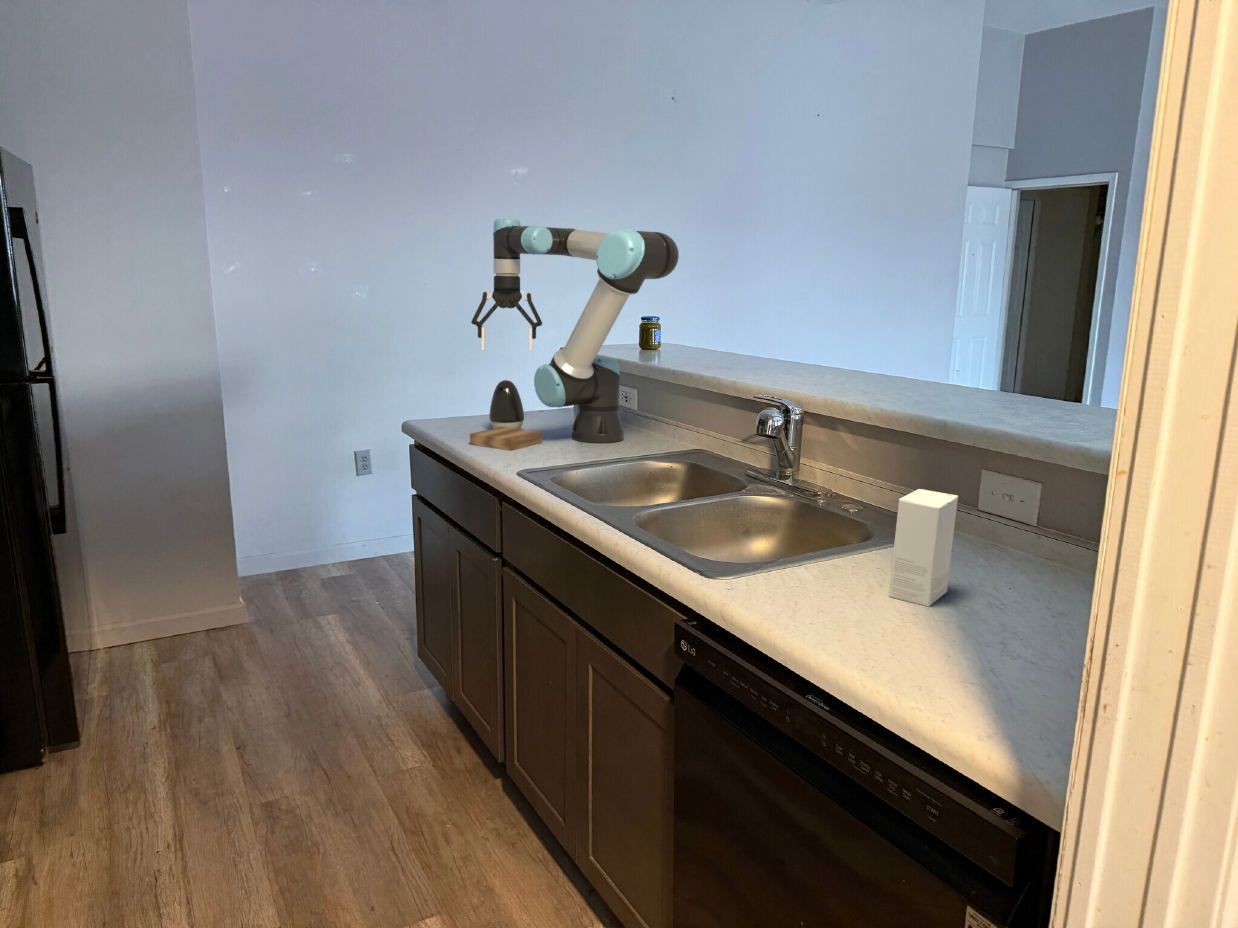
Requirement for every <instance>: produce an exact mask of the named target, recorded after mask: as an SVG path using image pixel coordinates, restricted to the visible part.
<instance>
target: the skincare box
mask: <svg viewBox="0 0 1238 928" xmlns="http://www.w3.org/2000/svg"><path fill="white" fill-rule="evenodd" d="M958 501H959V495H957V494H950V493H945V492H939V491H935V490H934V491H933V490H927V489H923V488H917V489H916V490H914V491H912V492H910V493H908V494H907V495H905V496H902V497H901V498H898V507H897V516H896V526H895V533H894V534H895V535H894V536H895V537H894V543H893V544H894V546H893V555H892V564H891V565H892V566H891V574H890V580H889V583H890V584H889V589H888V590H889V591H888V597H889V598H892V599H895V600H900V601H905V602H908V603H912V604H916V605H919V606H924V607H930V606H931V605H933V604H934V603H935V602H936V601H938V600H939V599H940V598H941V597H943V595H945V594H946V593H947V592H948V583H949V575H950V568H951V567H950V566H951V558H952V552H953V551H952V550H953V542H954V534H955V532H954V531H955V525H956V517H957V509H958Z"/></svg>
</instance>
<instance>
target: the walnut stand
mask: <svg viewBox="0 0 1238 928" xmlns="http://www.w3.org/2000/svg"><path fill="white" fill-rule="evenodd" d="M542 443H543V432H542V431H538V430H529V429H521V428H520V429H515V428H507V427H498V428H490V429H485V430H481V431H476V432H472V433H469V444H470V446H478V447H483V448H490V449H491V448H492V449H497V448H498V449H499V450H503V451H504V450H505V451H516V450H520V449H522V448H528V447H532V446H535V445H538V444H542Z"/></svg>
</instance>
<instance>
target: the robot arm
mask: <svg viewBox="0 0 1238 928" xmlns="http://www.w3.org/2000/svg"><path fill="white" fill-rule="evenodd" d="M492 235H493V237H492V238H493V239H492V240H493V273H494V274H495V275H494V276H493V291H492V292H488V291H483V293H482V298H481V301H480V303H479V305H478V307H477V310H476V311H475V313H474V315H473V318H472V319H471V324H472V325H475V326H476V327H477V338H478V339H481V350H482V351H485V349H486V339H485V338H486V329H485V328H486V327H485V326H483V325H484V324H485V323H486V321H488V319H489V318H490V317H491V316H492V314H493V313H494V312H495V311H496V310H497V309H498V307H499V308H500V309H514V308H515V309H516V310H518V311H519V313H520V314H521V316H522V317H524V319H525V320H526V322H528V324H529V325H530V326H531V327H529V328H528V329H529V334H528V335H529V339H528V343H529V345H528V346H529V347H528V349H529V352H530V351H531V352H532V351H533V340H535V339H536V338H537V328H538V327H541V326H543V321H542V319H541V317H540V315H539V313H538V311H537V309H536V307H535V305H534V303H533V300H532V293H530V292H527V293H522V292H521V277H520V274H521V254H522V255H542V256H544V255H550V256H564V257H570V258H578V259H586V260H590V261H592V260H593V261H595V262H596V266H597V270H596V273H597V276H598V281H597V283H596V285H595V287H594V289H593V291H592V293H591V294H590V297H589V299H588V301H587V302H586V304H585V305H584V308H583V311H582V312H581V313H580V316H579V318H578V320H577V322H576V324H575V326H574V328H573V330H572V332H571V334H570V335H569V338H568V340H567V341H566V344H565V345H564V347H563V349H559V350H556V351H555V353H554V354H553V357H552V358H551V360H550V362H549V363H545V364H541V365H540V366H538V368H537V369H536V371H535V373H534V378H533V384H534V389H535V390H534V391H535V393H536V396H537V397H538V399H539V400H540V402H541V403H542V404H543V405H545V406H546V407H549V408H559V409H560V408H563V407H573V406H577V413H576V416H575V419H574V422H573V424H572V427H571V439H572V440H574V441H579V442H584V443H593V444H594V443H596V444H598V443H599V444H601V443H603V444H604V443H606V444H607V443H615V442H621V441H623V440H624V439H625V430H624V426H623V422H622V420H621V416H620V411H619V410H620V409H619V408H620V407H619V405H620V382H621V381H620V380H621V379H620V377H621V373H620V364H619V362H618V361H617V360H615V359H606V358H598V357H597V355H598V354H599V352H600V350H601V348H602V347H603V345H604V343H605V342H606V339H607V338H608V336H609V334H610V332H611V330H612V328H613V327H614V324H615V323H616V320H617V319H618V317H619V315H620V313H621V311H622V310H623V308H624V306H625V304H626V303H627V301H628V298H629V297H630V296H632V295H635V294H637V293H639V291H640V289H641V288H642V285H643V284H644V282H645V280H659V279H663V278H666V277H667V276H670V274H671V273H672V272H673V271H674V270H675V269H676V267H677V264H678V262H679V257H680V256H679V254H680V253H679V248H678V245H677V243H676V242H675V240H674V239H673V238H672V237H671V236H669V235H668V234H666V233H663V232H660V231H659V232H658V231H647V230H634V229H630V228H626V229H616V230H613V231H610V232H609V233H606V232H599V231H598V232H597V231H589V230H581V229H576V228H570V227H569V228H568V227H567V228H565V227H551V226H549V227H548V226H543V225H542V226H541V225H536V224H535V225H533V224H532V225H521V221H520V220H519V219H516V218H514V219H513V218H496V219H495V220H494V222H493V232H492ZM490 298H492V299H493V300H494V302H495V303H494V304H493V305H492V306H491V308H489V310H488V311H487V312H486V313H485V315H483V317H482V318H481V319H480V320H479V321H478V318H479V317H480V316H481V313H482V311H483V309H484V307H485V305H486V303H487V301H489V300H490ZM521 299H524V301H526V302H527V304H528V306H529V307H530V310H531V312H532V314H533V316H534V318H535V321H536V322H534V320H533V319H532V318H531V316H530V315H529V313H527V312H526V310H525V309H524V307H522V305H521V304H520V303H519V302H520V301H521Z"/></svg>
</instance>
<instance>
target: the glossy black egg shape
mask: <svg viewBox="0 0 1238 928" xmlns="http://www.w3.org/2000/svg"><path fill="white" fill-rule="evenodd" d="M524 420H525V413H524V406H523V402H522V399H521V395H520V393H519V391H518V388H517V386H516V385H515V383H514V382H512V381H511V380H507V379H504V380H501V381H500V382H498V383H497V385H496V387H494V391H493V395H492V397H491V402H490V408H489V421H490V423H491V426H492V429H494V428H498V427H507V428H515V429H521V428H522V426H523V424H524Z"/></svg>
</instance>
